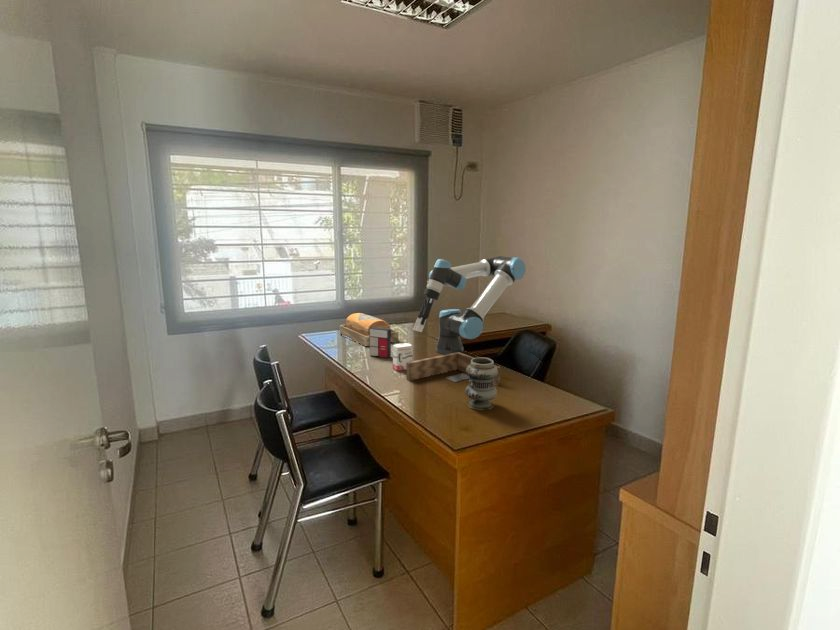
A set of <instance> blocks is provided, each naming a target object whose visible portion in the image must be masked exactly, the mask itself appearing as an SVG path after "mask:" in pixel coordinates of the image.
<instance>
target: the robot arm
mask: <svg viewBox="0 0 840 630" xmlns="http://www.w3.org/2000/svg"><path fill="white" fill-rule="evenodd" d="M525 274H526V264H525V262H524V260H523V259H522V258H520V257H516V256H513V257H512V256H502V255H500V256H494V257H489V258H483V259H480V260H479V261H478V262H473V263H468V264H462V265H459V266H458V265H457V266H454V267H453V266H452V264H451V262H449V261H448V260H445V259H443V258H438V259H437V260H436V261H435V264H434V266H433V268H432V270H431V271H430V272H429V274H428V278H429V279H428V280H427V281H426V282H427V284H426V288H425V289H424V291H423V296H424V297H426V298H425V299H424V300H423V304H422V306H421V308H420V311H419V313H418V314H417V318H416V321H415V322H414V326H413V328H412V331H415V332H420V333H422V332H423V330H424V327H425V325H426V322H427V320H428V318H429V316H430V313H431V310H432V306H433V304H434V301H438V300H439V297H440V293H441V292H442V290H443V288H444V286H445V287H451V288H453V289H455V290H457V291H461V290H462V289H464V288H465V286H466V285H467V280H468V279H471V278H476V277H482V276H483V277H493V278H492V279H491V280H490V281H489V283H488V284H487V286H486V287H485V288H484V290H483V291H482V292H481V293H480V295H479V296H478V297H477V298H476V300H475V301H474V303H473V304H472V305H471V306H470V307H468V308H467V307H466V308H465V309H464V310H463V311H461V309H460V308H459V309H458V308H457V309H456V308H454V309H452V308H451V309H443V310H440V311H439V316H438V339H437V343H436V345H435V352H437V353H439V354H441V355H446V354H451V353H456V352H460V353H461V352H462V353H463V352H464V346H463V342H462V339H461V338H463V339H468V340H475V339H476V338H478V337H479V336H480V335H481V334H482V332H483V327H484V324H483V323H484V322H485V320H484V318H485V317H486V314H487V313H488V312H489V311H490V309H491V308H492V306H494V304H495V303H496V302H497V300H498V299H499V298H500V296H501V295H502V294H503V292H504V291H505V290H506V288H507V287H508V286H512V285H513V284H514V283H515V281H516V280H517V281H519V280H521V279H523V278H524V277H525Z"/></svg>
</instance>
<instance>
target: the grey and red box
mask: <svg viewBox="0 0 840 630" xmlns="http://www.w3.org/2000/svg"><path fill="white" fill-rule="evenodd" d="M391 329H392V328H390V329H388V328H378V327H372V328H370V329H369V332H370V346H369V356H370V355H371V356H370V357H376V356H379V357H378V358H384V357H385V358H384V359H389V358H390V357H392V350H391V349H392V345H391V344H392V343H391Z"/></svg>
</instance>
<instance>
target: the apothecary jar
mask: <svg viewBox="0 0 840 630" xmlns="http://www.w3.org/2000/svg"><path fill="white" fill-rule="evenodd" d="M494 365H495V363H494V360H493V359H491V358H489V357H483V356H482V357H481V356H480V357H474V358H473V359H472V360H471V363H470V365H468V366H467V368H466V372H467V373H466V374H467V375H469V379H468V384H467V386H465V390H464V391H465V395H466V396H467V397H468V398H470V399H471V400H469V401H468V402H467V406H468V407H469V409H472V410H476V411H486V410H491V409H493V408H494V403H493V402H491V401H492V400H493V399H494V398H495V397H497V395H498V390H497V388H496V386H495V385H494V377H495V376H496V375H497V373H498V370H497V368H496V367H495V366H494Z"/></svg>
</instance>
